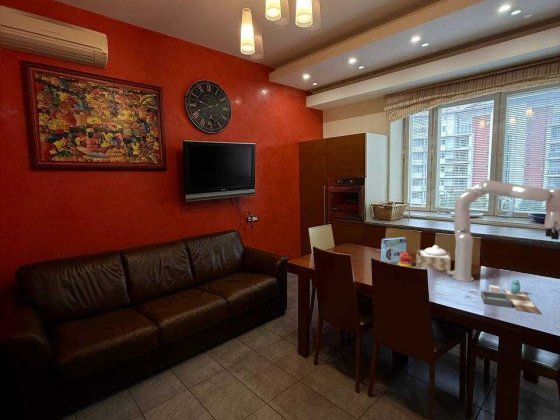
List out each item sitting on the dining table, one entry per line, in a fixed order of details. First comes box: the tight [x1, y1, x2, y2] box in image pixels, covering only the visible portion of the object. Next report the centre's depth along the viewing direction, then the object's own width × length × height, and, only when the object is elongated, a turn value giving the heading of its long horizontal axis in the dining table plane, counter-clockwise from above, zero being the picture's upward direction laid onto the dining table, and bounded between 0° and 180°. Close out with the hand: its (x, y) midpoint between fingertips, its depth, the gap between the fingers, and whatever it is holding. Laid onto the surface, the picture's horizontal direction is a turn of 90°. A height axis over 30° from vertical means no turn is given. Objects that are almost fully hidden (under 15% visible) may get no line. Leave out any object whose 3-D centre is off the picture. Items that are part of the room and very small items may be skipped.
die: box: [488, 284, 501, 293], centre depth 175 cm, size 5×5×5 cm
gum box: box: [380, 236, 407, 265], centre depth 230 cm, size 20×5×23 cm, turn 106°
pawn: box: [510, 279, 521, 294], centre depth 175 cm, size 4×4×8 cm
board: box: [503, 289, 542, 315], centre depth 165 cm, size 10×32×1 cm, turn 153°
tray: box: [480, 290, 513, 309], centre depth 164 cm, size 12×12×3 cm
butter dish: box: [420, 244, 449, 258], centre depth 235 cm, size 18×18×16 cm
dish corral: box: [415, 249, 452, 271], centre depth 235 cm, size 23×23×9 cm
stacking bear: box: [398, 252, 413, 268], centre depth 205 cm, size 11×10×18 cm
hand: (551, 237), depth 180 cm, fingers open, 9 cm apart
